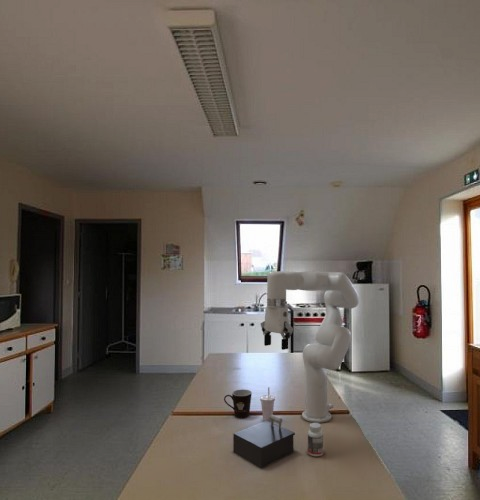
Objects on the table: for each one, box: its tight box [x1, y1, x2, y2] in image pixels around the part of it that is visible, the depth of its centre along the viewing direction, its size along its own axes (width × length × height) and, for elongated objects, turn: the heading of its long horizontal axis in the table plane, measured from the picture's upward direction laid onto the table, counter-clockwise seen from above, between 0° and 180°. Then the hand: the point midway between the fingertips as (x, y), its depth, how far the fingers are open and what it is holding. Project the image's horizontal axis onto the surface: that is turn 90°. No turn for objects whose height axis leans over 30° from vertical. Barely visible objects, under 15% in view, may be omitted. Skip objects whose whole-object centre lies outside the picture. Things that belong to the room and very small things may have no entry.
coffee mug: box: [223, 388, 253, 420], centre depth 169 cm, size 12×9×10 cm
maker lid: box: [232, 414, 296, 450], centre depth 135 cm, size 16×15×5 cm
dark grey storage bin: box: [232, 436, 295, 469], centre depth 135 cm, size 16×15×6 cm
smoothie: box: [259, 386, 276, 422], centre depth 163 cm, size 6×6×14 cm
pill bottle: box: [307, 422, 324, 458], centre depth 134 cm, size 5×5×10 cm
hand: (276, 347), depth 149 cm, fingers open, 9 cm apart
